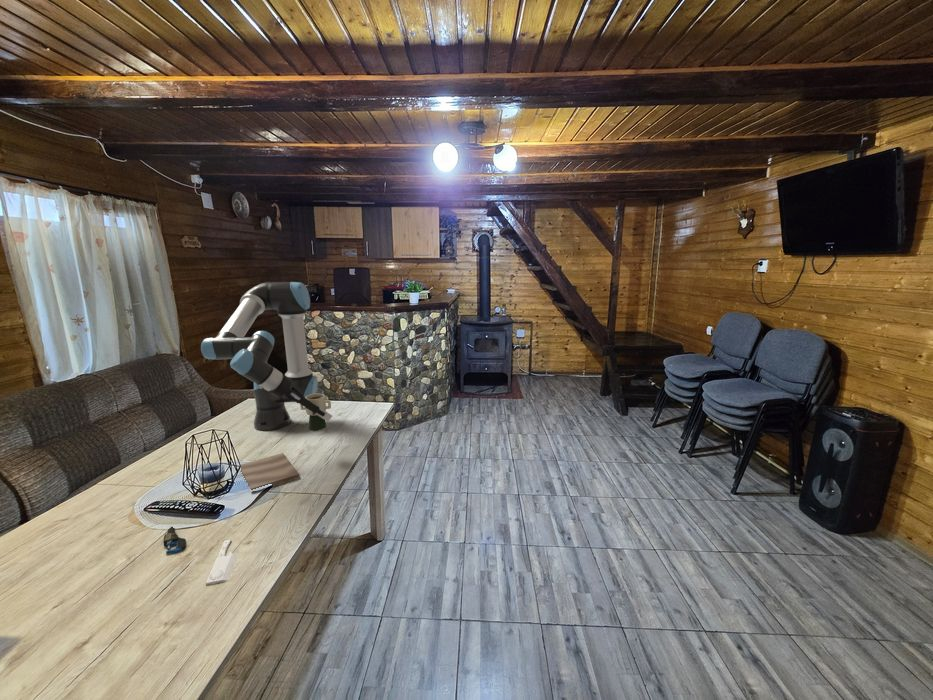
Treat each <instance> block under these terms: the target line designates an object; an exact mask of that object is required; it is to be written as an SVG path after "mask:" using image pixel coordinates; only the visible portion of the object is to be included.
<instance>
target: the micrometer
mask: <svg viewBox="0 0 933 700" xmlns="http://www.w3.org/2000/svg"><path fill="white" fill-rule="evenodd" d="M173 527H174V526H170V527H169V528H168V529H167V533H165V534H164V536H163V540H162V541H163V542H162V543H163V547H166V549H167V550H166V551H165V554H166V555H169V554H177V553H179V552H182V551H184V550H185V549H186V547H187V541H186V538H183V537H180V536H179V535H178V534H177V533H176V528H175V527H174V528H173ZM174 546H176V547H175V548H172V547H174ZM171 548H172V549H171Z"/></svg>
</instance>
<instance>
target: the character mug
mask: <svg viewBox="0 0 933 700" xmlns="http://www.w3.org/2000/svg"><path fill="white" fill-rule="evenodd" d="M305 398H306V399H307V400H309V401H310V402H312V403H313V404H315V405H316V406H318V407H320V408H322V409H323V410H325V411H326V412H327V410H328V409H329V410H330V409H331V408H332V405H331V403H332V402H331V400H330V399H329V400H327V399H326V395H325V394H324V393H319V392H318V393H316V394H311V395H308V396H306V397H305ZM326 404H327V405H326ZM299 405H300V410H302V411H305V413H306V414H307V415H308V429H309V431H311V432H318V431H322V430H324V429H325V428H326V427H327V421H326V420H324V419H323V418H321V417H319V416H318V415H316V414H314V415H313V412H312V411H310V410H309V409H307V408H306V407H304V406H303V405H301V404H299Z"/></svg>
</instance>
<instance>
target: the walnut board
mask: <svg viewBox="0 0 933 700" xmlns="http://www.w3.org/2000/svg"><path fill="white" fill-rule="evenodd" d="M240 465H241V471H240V473H241V472H242V473H241V475H242V474H243V475H242V477H243V476H244V477H243V479H244V478H245V479H244V481H245V480H246V481H245V483H246V482H247V483H248V486H249V487H250V489H251V490H253V489H256V488H259V487H262V486H265V485H268V484H272V485H275V486H278V485H281V484H284V483H287V482H290V481H294V480H296V479H299V478H300V473H299V472H298V470H297V469H296V468H295V466H294V465H293V464H292V462H291V461H290V459H288V457H287V455H285V453H284V452H281V453H277V454H274V455H270V456H267V457H265V458H260V459H257V460H253V461H249V462H244V463H242V464H240ZM247 483H246V484H247ZM248 486H247V487H248Z"/></svg>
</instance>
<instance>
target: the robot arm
mask: <svg viewBox="0 0 933 700" xmlns="http://www.w3.org/2000/svg"><path fill="white" fill-rule="evenodd" d="M310 307H311V297H310V293H309V290H308V288H307V286H306V285H305V283H302V282H298V281H297V282H296V281H279V282H275V281H274V282H273V281H272V282H271V281H268V282H267V281H265V282H262V283H259V284H257V285H255V286H253V287H252V288H250V289H249V290H247V291H246V292H245V293H244V294H243V295H242V296H241V298H240V300H239V305H238V307H237V308H236V309H235V311H233V313H232V314H231V316H230V317H229V319H228V320H227V321H226V322H225V324H224V325H223V327H222V328H221V329H220V330H219V332H218V333H217V335H216V336H215V337H206V338H204V339H203V340H202V342H201V344H200V351H201V354H202V356H203V357H204V359H207V360H217V361H219V360H230V363H229V365H230V368H231V369H233V370H234V371H235V372H237V373H238V375H241V376H242V377H245V378H246V379H247V380H249V381H251V382H253V392H254V398H255V399H254V400H255V407H256V411H255V417H254V419H253V427H254V429H255V430H257V431H273V430H277V429H281V428H285V427H286V426H288V425H289V424H290V423H291V416H290V414H289V412H288V410H287V408H286V405H285V403H297V404H299V405H300V404H301V405H303V407H306V408H307V409H309V410H310V411H312V412H313V415H314V414H316V415H318V416H319V417H321V418H323V419H324V420H325V421H326V423H328V422H330V421H331V419H332V418H333V415H332V414H331V413H330V412H328V411H327V410H326V411H325V410H323V409H322V408H320V407H318V406H316V405H315V404H313V403H312V402H310V401H309V400H307V399H306V398H305V397H306V396H308V395H311V394H317V392H318V386H319V385H318V384H319V381H318V377H317V375H314V374H313V370H312V369H310V368H309V362H308V351H307V341H306V340H307V339H306V332H305V322H304V321H305V320H304V316H305V315H306V314H307V310H308V309H310ZM267 310H268V311H270V310H276V311H277V312H276V313H277V315H278V316H279V317H280V318H281V321H282V330H283V337H284V338H283V339H284V346H285V356H286V364H287V371H286V372H285V373H284V374H283V373H282V372H281V371H280V370H278V368H275V367H274V366H272V365H271V364H269V363H268V361H269V358H270V356H271V353H272V352H273V350H274V345H275V337H274V336H273V335H272V333H270V332H268V331H266V330H257V331H256V332H254V333H253V334H252V336H246V334H247V332H248V331H249V329H250V328H251V327H252V325H253V324H254V323H255V320H256V319H257V317H258V316H260V315H261V314H263V313H264V311H267Z"/></svg>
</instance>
